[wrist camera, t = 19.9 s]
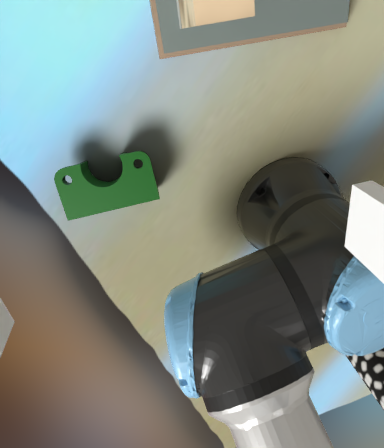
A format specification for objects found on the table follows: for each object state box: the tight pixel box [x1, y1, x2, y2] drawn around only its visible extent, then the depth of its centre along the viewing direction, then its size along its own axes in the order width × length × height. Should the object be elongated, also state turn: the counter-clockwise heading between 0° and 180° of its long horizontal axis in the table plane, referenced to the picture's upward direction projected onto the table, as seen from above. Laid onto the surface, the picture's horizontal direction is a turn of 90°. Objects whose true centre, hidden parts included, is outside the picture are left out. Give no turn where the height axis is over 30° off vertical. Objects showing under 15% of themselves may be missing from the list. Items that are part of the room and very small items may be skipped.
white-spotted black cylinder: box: [346, 348, 384, 410], centre depth 58 cm, size 8×8×20 cm
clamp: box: [54, 151, 160, 220], centre depth 40 cm, size 12×6×9 cm, turn 94°
